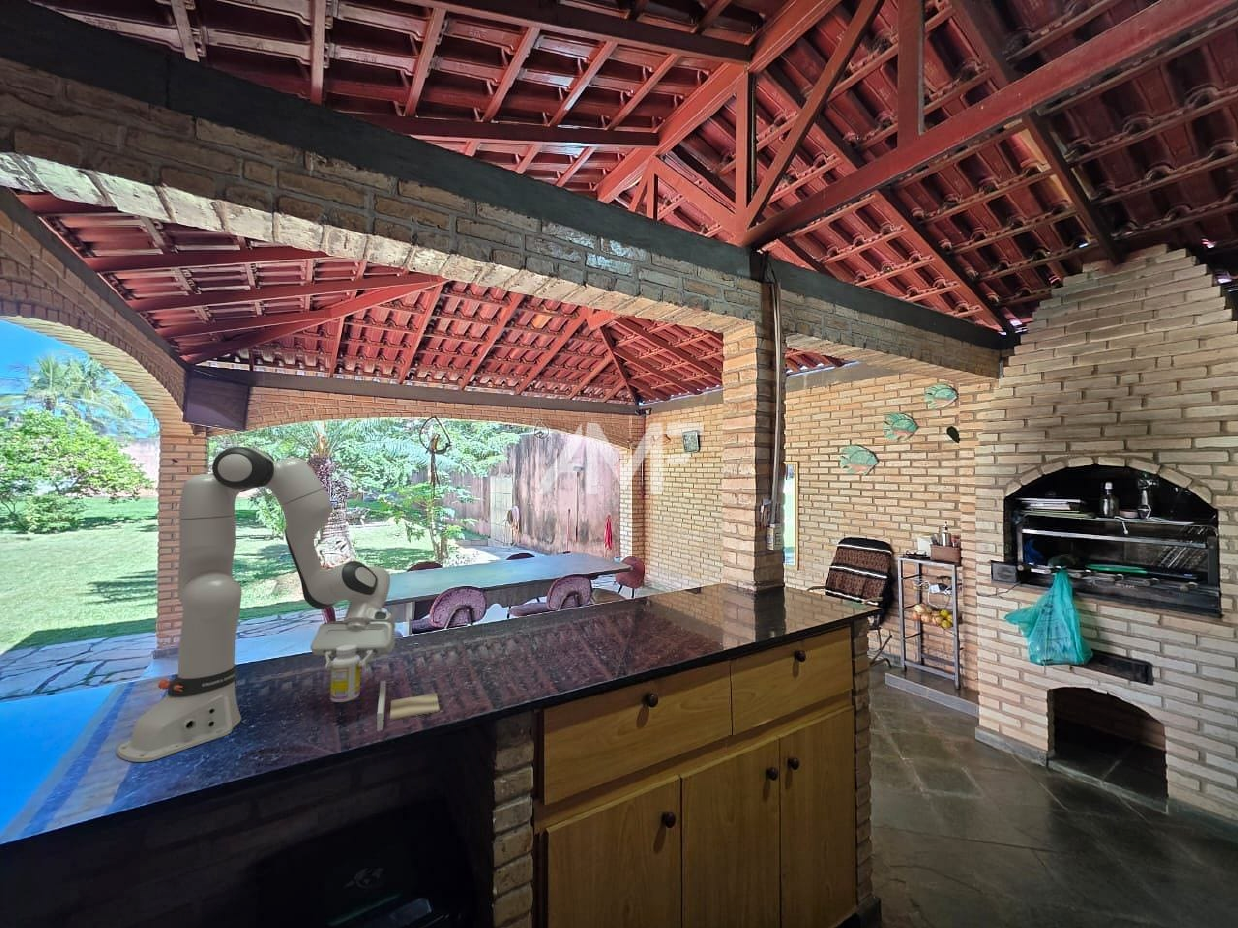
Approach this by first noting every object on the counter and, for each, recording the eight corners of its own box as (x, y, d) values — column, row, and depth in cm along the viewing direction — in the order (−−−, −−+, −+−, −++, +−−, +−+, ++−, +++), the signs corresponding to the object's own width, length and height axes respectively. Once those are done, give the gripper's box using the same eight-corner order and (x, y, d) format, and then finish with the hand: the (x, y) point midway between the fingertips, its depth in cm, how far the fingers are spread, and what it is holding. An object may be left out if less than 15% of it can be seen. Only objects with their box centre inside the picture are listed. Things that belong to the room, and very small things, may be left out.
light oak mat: (439, 712, 130) (439, 709, 130) (390, 721, 125) (390, 718, 125) (436, 694, 141) (436, 692, 141) (390, 702, 136) (391, 700, 136)
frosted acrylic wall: (382, 731, 120) (382, 712, 120) (377, 732, 119) (377, 713, 119) (385, 696, 140) (385, 680, 140) (380, 697, 139) (381, 681, 139)
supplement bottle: (352, 690, 131) (354, 641, 131) (363, 696, 126) (365, 646, 127) (325, 698, 125) (327, 647, 126) (335, 705, 121) (338, 652, 122)
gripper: (318, 615, 133) (297, 664, 122) (396, 613, 135) (382, 661, 125) (325, 627, 137) (306, 675, 127) (401, 625, 139) (388, 672, 129)
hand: (344, 668), depth 126 cm, fingers closed on supplement bottle, 7 cm apart
